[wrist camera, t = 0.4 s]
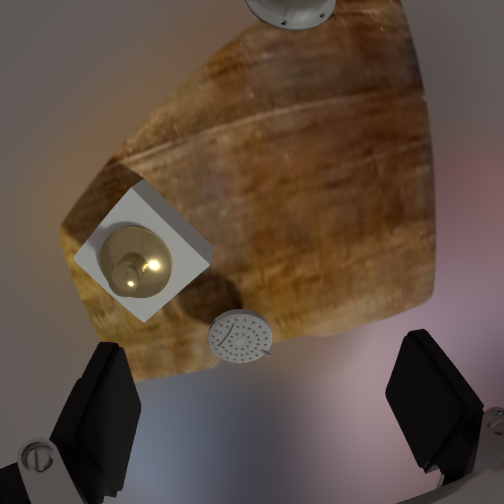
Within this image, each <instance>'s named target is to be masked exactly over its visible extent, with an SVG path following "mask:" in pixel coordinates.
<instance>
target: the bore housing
mask: <svg viewBox="0 0 504 504" xmlns="http://www.w3.org/2000/svg"><path fill="white" fill-rule="evenodd" d="M125 226H140V227H144V228H146V229H149V230H151V231H152V232H154V233H155V234H157V235H158V236H159V237H160V238H161V239H162V240H163V241H164V242H165V244H166V245H167V247H168V249H169V251H170V253H171V257H172V263H173V268H172V273H171V276H170V279H169V281H168V283H167V285H166V286H165V288H164V289H163V290H162V291H161V292H159V293H158V294H156V295H154V296H152V297H148V298H133V297H120V296H118V295H116V294H115V293H114V292H113V291H112V290H111V289H110V287H109V284H108V281H107V280H106V278H105V277H104V275H103V273H102V270H101V267H100V260H99V257H100V250H101V247H102V245H103V243H104V241H105V240H106V239H107V238H108V237H109V236H110V235H111V233H113V232H114V231H115V230H117V229H119V228H122V227H125ZM212 251H213V246H212V245H211V244H210V243H209V242H208V241H207V240H206V239H205V238H204V237H203V236H202V235H201V234H200V233H199V232H198V231H197V230H196V229H195V228H193V227H192V226H191V225H190V224H189V223H188V222H187V221H186V220H185V219H184V218H183V217H182V216H181V215H180V214H179V213H178V212H177V211H176V210H175V209H174V208H173V207H172V206H171V205H170V204H169V203H168V202H167V201H166V200H165V199H164V198H163V197H162V196H161V195H160V194H159V193H158V192H157V191H156V190H155V189H154V188H153V187H152V186H151V185H150V184H149V183H148V182H147V181H146V180H145V179H143V180H141V181H140V182H138V183H137V184H135V185H134V186H132V187H131V188H130V189H129V190H128V191H127V192H126V194H125V195H124V196H123V197H122V198H121V199H120V200H119V202H118V203H117V204H116V205H115V206H114V207H113V209H112V210H111V211H110V212H109V213H108V215H107V216H106V217H105V218H104V219H103V221H102V222H101V223H100V224H99V225H98V227H97V228H96V229H95V230H94V232H93V233H92V234H91V235H90V237H89V238H88V239H87V241H86V242H85V243H84V244H83V246H82V247H81V248H80V250H79V251H78V252H77V254H76V255H75V256H74V258H73V260H74V261H75V262H76V263H77V264H78V265H80V266H81V267H82V268H83V269H84V270H85V271H86V272H87V273H88V274H89V275H90V276H91V277H92V278H93V279H94V280H95V281H96V282H97V283H99V284H100V285H101V286H102V287H103V288H104V289H105V290H106V291H107V292H108V293H110V294H111V295H112V296H113V297H114V298H115V299H116V300H117V301H119V302H120V303H121V304H122V305H123V306H124V307H126V308H127V309H128V310H129V311H130V312H131V313H133V314H134V315H135V316H136V317H137V318H139V319H140V320H141V321H142V322H143V323H145V322H146V321H147V320H148V319H149V318H150V317H151V316H152V315H154V314H155V313H156V312H157V311H158V310H159V309H160V308H161V307H163V306H164V305H165V304H166V303H167V302H168V301H169V300H171V299H172V298H173V297H174V296H175V295H176V294H177V293H179V292H180V291H181V290H182V289H183V288H184V287H185V286H186V285H188V284H189V283H190V282H191V281H192V280H193V279H195V278H196V277H197V276H198V275H199V274H200V273H201V272H203V271H204V270H205V269H206V268H207V267H208V266H209V265H210V263H211V257H212Z"/></svg>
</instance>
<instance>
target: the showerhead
mask: <svg viewBox="0 0 504 504" xmlns="http://www.w3.org/2000/svg"><path fill="white" fill-rule="evenodd" d="M208 342H209V346H210V348H211V349H212V351H213V352H214V353H215V354H216V355H217V356H219V357H220V358H222V359H224V360H227V361H230V362H236V363H244V362H250V361H253V360H256V359H258V358H260V357H261V356H263V355H264V354H265V355H266V356H267V357H270V356H271V354H270V353H269V352H268V349H269V348H270V346H271V343H272V332H271V328H270V325H269V323H268V322H267V321H266V319H265V318H264V317H262V316H261V315H260V314H258V313H256V312H253V311H250V310H244V309H236V310H231V311H227V312H225V313H222V314H221V315H219V316H218V317H217V318H216V319H215V320H214V321H213V322H212V324H211V326H210V328H209V334H208Z"/></svg>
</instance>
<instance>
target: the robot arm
mask: <svg viewBox="0 0 504 504" xmlns="http://www.w3.org/2000/svg"><path fill="white" fill-rule="evenodd" d="M245 2H246V4H247V6H248V8H249V9H250V10H251V11H252V13H253V14H254V15H255V16H256V17H257V18H259V19H260V20H261V21H263V22H265V23H266V24H268V25H271V26H273V27H276V28H279V29H283V30H291V31H299V30H306V29H310V28H313V27H316V26H318V25H319V24H321V23H323V22H324V21H325V20H326V19H327V18H328V17H329V16H330V15H331V13H332V12H333V10H334V7H335V3H336V0H253V1H250V0H245ZM320 16H322V18H321V17H320ZM281 23H284V24H285V25H281ZM385 394H386V399H387V401H388V402H389V405H390V407H391V409H392V411H393V413H394V415H395V417H396V419H397V421H398V423H399V425H400V428H401V430H402V432H403V434H404V436H405V438H406V440H407V442H408V445H409V446H410V449H411V451H412V453H413V455H414V458H415V460H416V462H417V464H418V466H419V467H420V468H423V470H424V472H425V474H426V473H429V472H432V471H434V470H437V469H438V468H439V469H440V471H441V475H440V478H439V481H438V484H437V487H436V489H435V490H432V491H430V492H427V493H425V494H422V495H419V496H417V497H414V498H411V499H408V500H405V501H402V502H399V503H396V504H504V408H502V407H491V408H489V409H487V410H486V411H485V413H484V411H483V410H482V409H483V407H484V405H483V403H482V402H481V401H480V399H479V398H478V396H477V395H476V394H475V392H474V391H473V389H472V388H471V387H470V386H469V384H468V383H467V381H466V380H465V379H464V377H463V376H462V375H461V373H460V372H459V371H458V369H457V368H456V367H455V366H454V364H453V363H452V362H451V360H450V359H449V358H448V357H447V355H446V354H445V353H444V351H443V350H442V349H441V348H440V346H439V345H438V344H437V343H436V342H435V340H434V339H433V338H432V337H431V335H430V334H429V333H428V332H427V331H426V330H425V329H420V330H413V331H410V332H409V333H408V334H407V336H405V337H404V339H403V342H402V344H401V348H400V351H399V354H398V357H397V360H396V363H395V366H394V369H393V371H392V374H391V377H390V380H389V382H388V385H387V388H386V392H385ZM140 413H141V402H140V399H139V396H138V393H137V390H136V387H135V384H134V381H133V378H132V375H131V371H130V368H129V365H128V362H127V358H126V355H125V351H124V349H123V348H122V347H119V345H118V344H117V343H112V342H100V343H99V344H98V346H97V348H96V350H95V352H94V353H93V355H92V357H91V360H90V361H89V363H88V365H87V367H86V369H85V371H84V373H83V375H82V377H81V378H80V379H78V380H77V381H76V383H75V385H74V387H73V389H72V391H71V393H70V396H69V397H68V399H67V401H66V403H65V406H64V408H63V410H62V412H61V415H60V416H59V418H58V421H57V423H56V425H55V427H54V430H53V432H52V434H51V436H50V439H49V440H48V439H45V438H34V439H30V440H28V441H27V442H25V443H24V444H23V445H22V446H21V447H20V449H19V451H18V455H17V462H16V463H14V464H11V465H9V466H6V467H4V468H1V469H0V504H102V503H103V500H104V496H110V497H116V495H117V491H121V490H122V488H123V485H124V480H125V475H126V471H127V466H128V462H129V458H130V453H131V449H132V445H133V441H134V436H135V433H136V429H137V424H138V420H139V417H140Z"/></svg>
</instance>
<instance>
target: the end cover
mask: <svg viewBox="0 0 504 504" xmlns="http://www.w3.org/2000/svg"><path fill="white" fill-rule="evenodd" d="M99 260H100V267H101V270H102V273H103V275H104V277H105V278H106V280H107V281H108V284H109V287H110V289H111V290H112V291H113V292H114V293H115V294H116V295H118V296H120V297H133V298H148V297H152V296H154V295H156V294H158V293H159V292H161V291H162V290H163V289H164V288H165V286H166V285H167V283H168V281H169V279H170V276H171V273H172V268H173V263H172V257H171V253H170V251H169V249H168V247H167V245H166V244H165V242H164V241H163V240H162V239H161V238H160V237H159V236H158V235H157V234H155V233H154V232H152V231H151V230H149V229H146V228H144V227H140V226H125V227H122V228H119V229H117V230H115V231H114V232H113V233H111V235H110V236H109V237H108V238H107V239H106V240H105V241H104V243H103V245H102V247H101V250H100V257H99Z"/></svg>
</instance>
